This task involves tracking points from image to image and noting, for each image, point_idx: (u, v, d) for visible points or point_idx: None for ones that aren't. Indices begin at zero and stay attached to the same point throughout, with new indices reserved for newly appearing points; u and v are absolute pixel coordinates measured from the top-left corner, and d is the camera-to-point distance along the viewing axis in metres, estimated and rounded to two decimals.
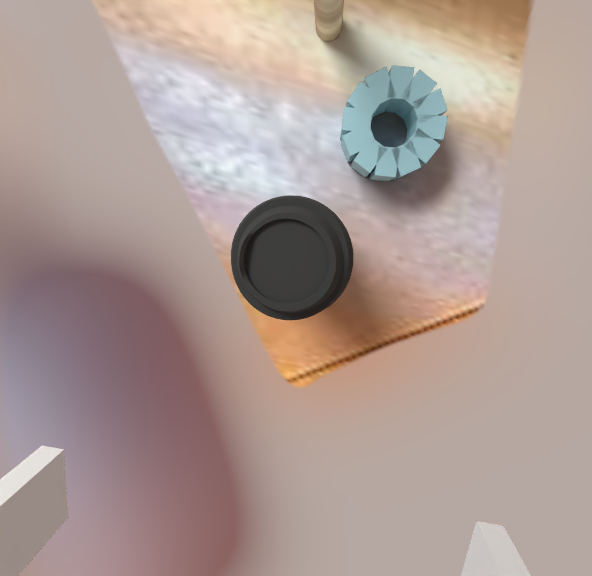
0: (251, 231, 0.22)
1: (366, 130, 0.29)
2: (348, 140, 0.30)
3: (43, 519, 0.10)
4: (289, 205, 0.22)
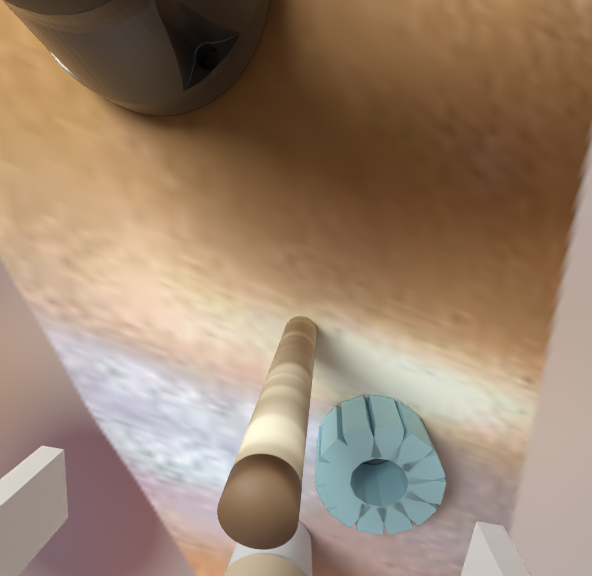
0: None
1: (344, 486, 0.24)
2: (322, 494, 0.24)
3: (43, 519, 0.10)
4: None
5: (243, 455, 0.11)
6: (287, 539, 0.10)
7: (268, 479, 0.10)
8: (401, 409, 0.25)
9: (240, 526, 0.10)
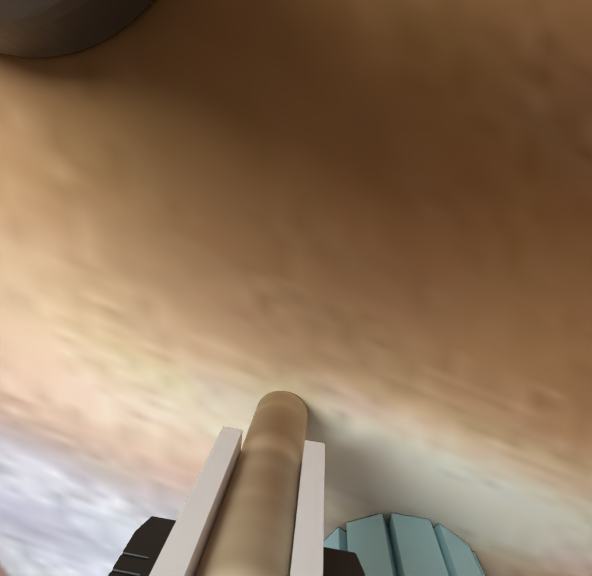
0: None
1: None
2: None
3: None
4: None
5: None
6: None
7: None
8: (446, 546, 0.15)
9: None
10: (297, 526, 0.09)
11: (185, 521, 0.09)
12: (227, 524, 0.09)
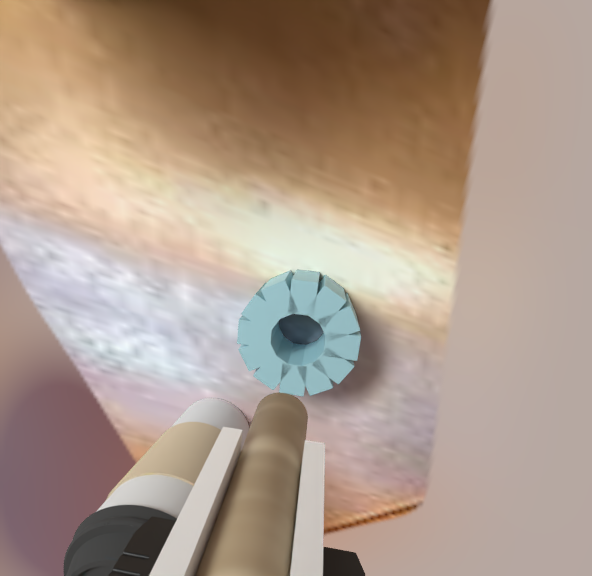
0: (72, 575, 0.17)
1: (265, 345, 0.24)
2: (245, 355, 0.25)
3: None
4: (125, 533, 0.17)
5: None
6: None
7: None
8: (324, 277, 0.26)
9: None
10: (297, 526, 0.09)
11: (185, 521, 0.09)
12: (226, 527, 0.09)
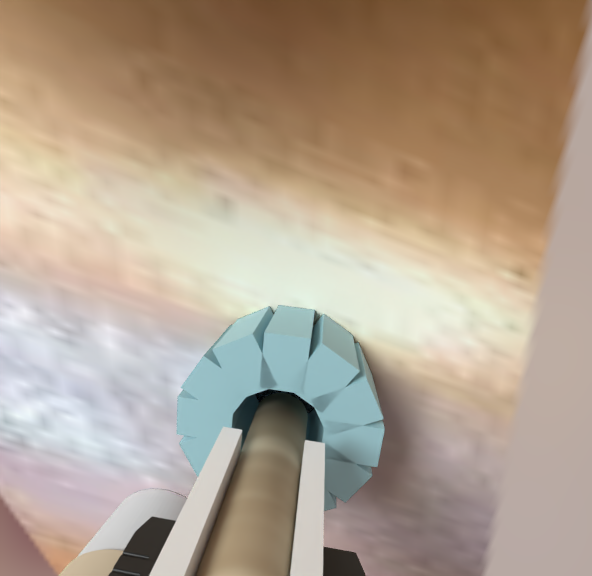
0: None
1: None
2: (191, 452, 0.15)
3: None
4: None
5: None
6: None
7: None
8: (322, 321, 0.16)
9: None
10: (297, 526, 0.09)
11: (185, 521, 0.09)
12: (226, 527, 0.09)
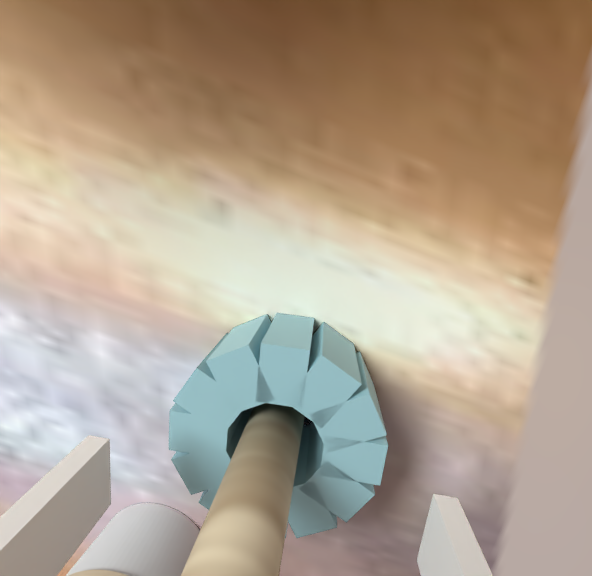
0: None
1: (218, 455, 0.14)
2: (183, 469, 0.14)
3: (92, 503, 0.11)
4: None
5: None
6: None
7: None
8: (322, 330, 0.15)
9: None
10: None
11: None
12: (233, 477, 0.11)
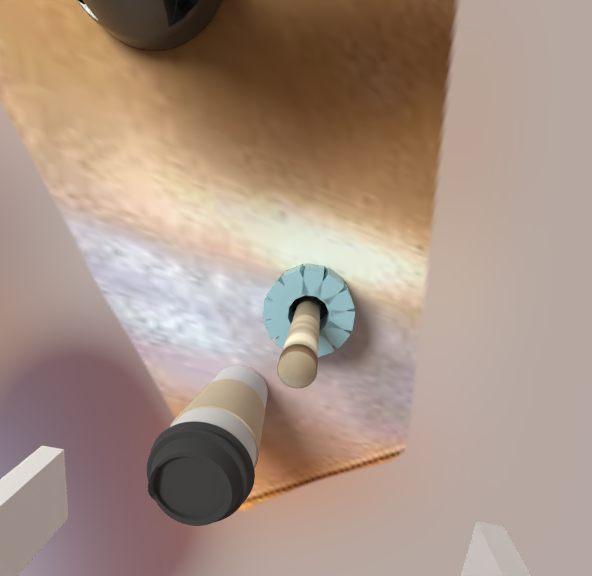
0: (158, 464, 0.25)
1: (284, 319, 0.33)
2: (268, 327, 0.33)
3: (43, 519, 0.10)
4: (193, 437, 0.26)
5: (287, 346, 0.22)
6: (311, 381, 0.21)
7: (302, 350, 0.21)
8: (328, 269, 0.34)
9: (288, 375, 0.21)
10: None
11: None
12: (299, 312, 0.30)
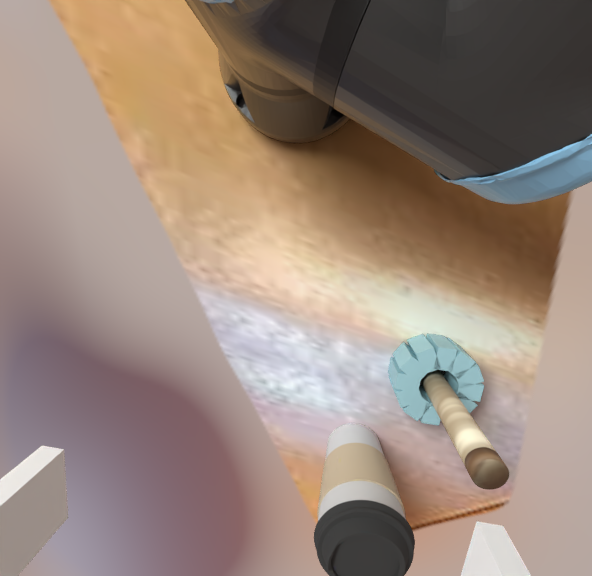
0: (338, 542, 0.28)
1: (415, 390, 0.35)
2: (399, 397, 0.36)
3: (43, 519, 0.10)
4: (367, 517, 0.28)
5: (472, 448, 0.24)
6: (502, 484, 0.23)
7: (495, 457, 0.23)
8: (451, 341, 0.37)
9: (480, 479, 0.23)
10: None
11: None
12: (441, 391, 0.32)
